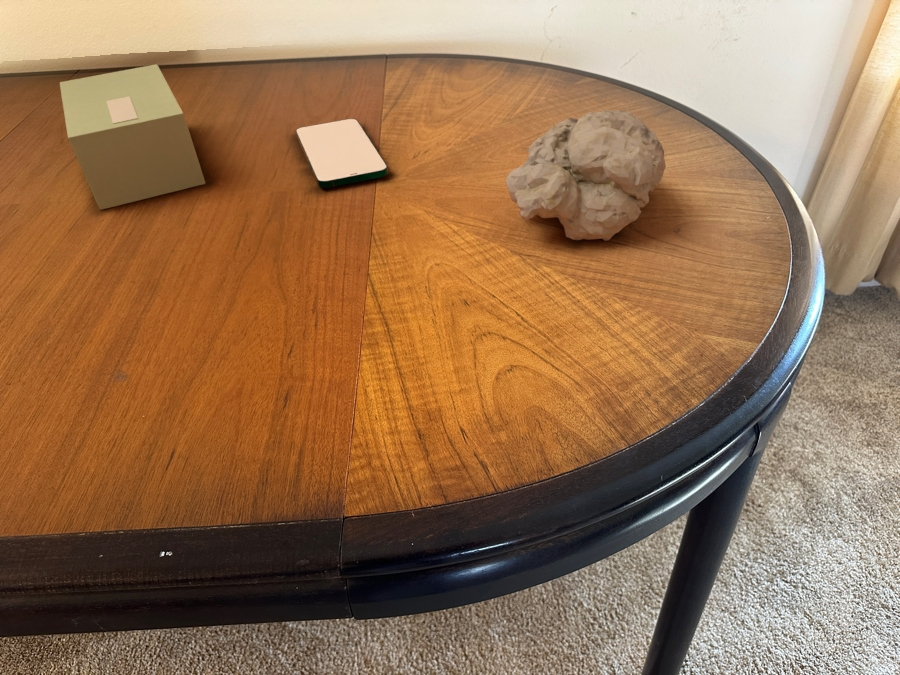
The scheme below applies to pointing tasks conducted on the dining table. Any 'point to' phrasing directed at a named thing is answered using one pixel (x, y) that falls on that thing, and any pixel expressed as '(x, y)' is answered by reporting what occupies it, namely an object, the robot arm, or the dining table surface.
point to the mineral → (590, 174)
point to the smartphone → (340, 153)
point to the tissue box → (129, 136)
